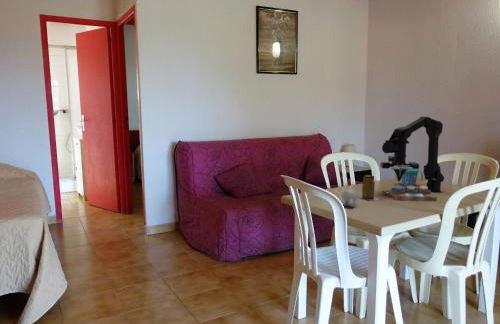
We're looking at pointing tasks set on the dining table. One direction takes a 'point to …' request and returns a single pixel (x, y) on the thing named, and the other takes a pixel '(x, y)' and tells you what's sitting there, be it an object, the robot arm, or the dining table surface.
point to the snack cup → (410, 177)
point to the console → (412, 195)
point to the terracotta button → (423, 188)
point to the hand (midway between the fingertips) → (398, 181)
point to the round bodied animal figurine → (349, 197)
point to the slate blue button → (397, 187)
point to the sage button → (410, 187)
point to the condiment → (368, 188)
